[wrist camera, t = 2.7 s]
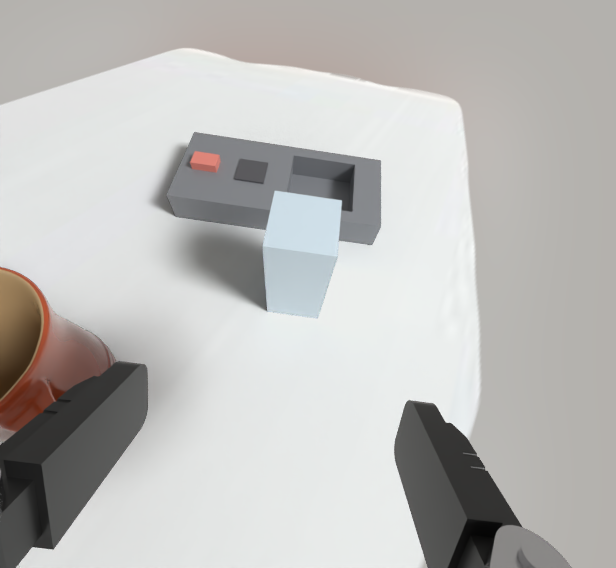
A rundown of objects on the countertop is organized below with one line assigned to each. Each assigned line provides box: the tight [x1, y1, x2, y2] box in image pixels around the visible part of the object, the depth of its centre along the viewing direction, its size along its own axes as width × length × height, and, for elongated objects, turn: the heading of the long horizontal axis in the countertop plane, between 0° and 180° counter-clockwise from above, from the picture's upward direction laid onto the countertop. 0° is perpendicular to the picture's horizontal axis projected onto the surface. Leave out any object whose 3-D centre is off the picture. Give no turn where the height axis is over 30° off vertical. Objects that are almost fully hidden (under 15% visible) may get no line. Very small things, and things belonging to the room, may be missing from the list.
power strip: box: [166, 132, 381, 245], centre depth 32 cm, size 20×9×4 cm, turn 84°
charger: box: [263, 191, 342, 318], centre depth 24 cm, size 4×5×10 cm
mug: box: [0, 267, 116, 442], centre depth 18 cm, size 12×9×10 cm
